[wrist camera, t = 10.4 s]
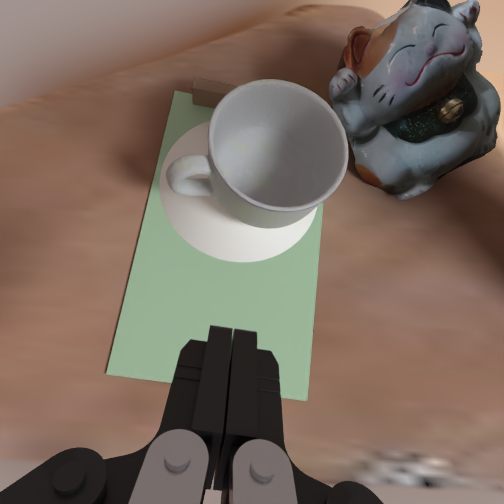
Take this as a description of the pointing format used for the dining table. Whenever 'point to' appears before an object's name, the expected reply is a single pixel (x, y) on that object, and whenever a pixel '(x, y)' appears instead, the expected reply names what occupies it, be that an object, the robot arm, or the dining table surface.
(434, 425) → the dining table surface
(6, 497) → the robot arm
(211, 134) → the teacup
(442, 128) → the lucky cat figurine
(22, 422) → the dining table surface
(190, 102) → the putting green
